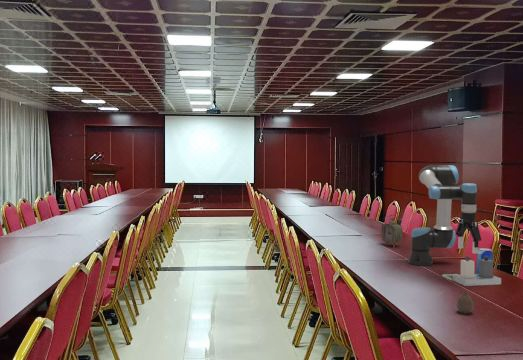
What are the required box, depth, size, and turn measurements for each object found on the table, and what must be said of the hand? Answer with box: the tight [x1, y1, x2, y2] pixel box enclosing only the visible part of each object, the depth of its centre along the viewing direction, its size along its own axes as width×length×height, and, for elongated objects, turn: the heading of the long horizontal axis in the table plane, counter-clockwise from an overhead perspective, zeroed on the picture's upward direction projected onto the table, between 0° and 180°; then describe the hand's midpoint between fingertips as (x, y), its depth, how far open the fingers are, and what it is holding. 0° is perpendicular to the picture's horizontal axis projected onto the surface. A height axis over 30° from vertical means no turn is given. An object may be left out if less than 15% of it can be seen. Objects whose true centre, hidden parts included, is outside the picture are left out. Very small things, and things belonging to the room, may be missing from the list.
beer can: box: [476, 247, 494, 274], centre depth 284 cm, size 8×8×16 cm
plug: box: [460, 255, 476, 279], centre depth 267 cm, size 5×5×14 cm
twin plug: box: [479, 256, 494, 278], centre depth 269 cm, size 5×5×14 cm
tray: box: [441, 273, 459, 281], centre depth 278 cm, size 9×9×2 cm
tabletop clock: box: [381, 214, 403, 249], centre depth 384 cm, size 14×9×25 cm, turn 25°
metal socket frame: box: [452, 273, 502, 287], centre depth 268 cm, size 12×21×4 cm, turn 100°
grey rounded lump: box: [456, 291, 474, 315], centre depth 217 cm, size 7×7×9 cm
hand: (467, 250), depth 267 cm, fingers open, 13 cm apart
